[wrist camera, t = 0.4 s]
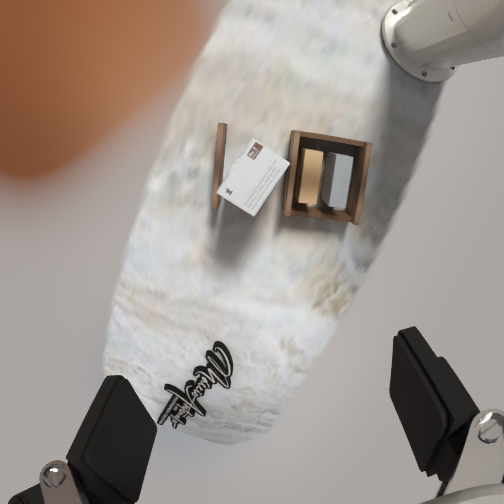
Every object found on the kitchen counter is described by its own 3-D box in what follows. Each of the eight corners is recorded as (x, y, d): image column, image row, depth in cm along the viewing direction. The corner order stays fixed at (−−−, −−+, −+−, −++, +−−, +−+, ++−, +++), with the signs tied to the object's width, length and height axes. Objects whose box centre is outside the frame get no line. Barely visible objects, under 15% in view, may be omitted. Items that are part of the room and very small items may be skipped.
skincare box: (256, 196, 39) (255, 222, 28) (227, 177, 38) (213, 196, 27) (284, 156, 37) (295, 166, 26) (254, 136, 36) (251, 137, 25)
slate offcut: (327, 151, 37) (336, 154, 32) (342, 154, 37) (353, 157, 32) (320, 197, 39) (328, 206, 34) (335, 199, 39) (345, 208, 34)
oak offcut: (300, 147, 37) (305, 149, 32) (315, 149, 37) (323, 152, 32) (294, 193, 39) (298, 202, 34) (309, 195, 39) (316, 204, 34)
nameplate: (194, 334, 46) (251, 359, 48) (196, 328, 47) (252, 353, 49) (146, 419, 55) (190, 436, 57) (148, 413, 57) (191, 431, 58)
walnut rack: (222, 123, 36) (218, 122, 32) (361, 142, 36) (371, 143, 32) (216, 201, 40) (211, 208, 36) (349, 216, 40) (358, 225, 36)
